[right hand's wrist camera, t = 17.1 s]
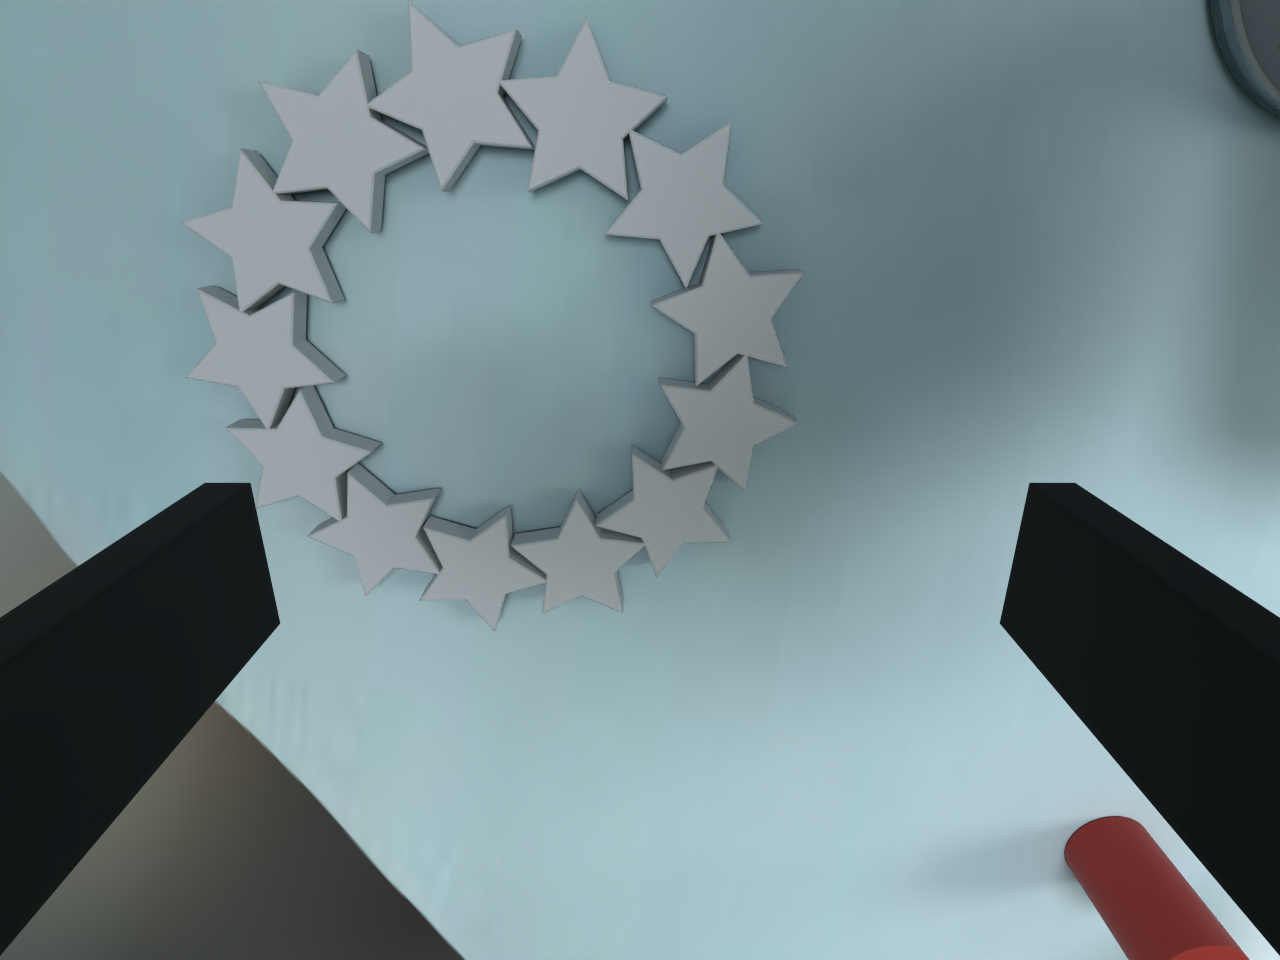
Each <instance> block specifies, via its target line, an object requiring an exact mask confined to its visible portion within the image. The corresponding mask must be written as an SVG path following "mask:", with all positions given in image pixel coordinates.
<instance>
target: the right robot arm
mask: <svg viewBox="0 0 1280 960" xmlns="http://www.w3.org/2000/svg"><path fill="white" fill-rule="evenodd" d="M1210 6H1211V15H1212V21H1213V26H1214V31H1215V35H1216V38H1217V41H1218V45H1219V48H1220V51H1221V53H1222V55H1223V58H1224V60H1225V62H1226V64H1227V66H1228V68H1229V70H1230V71H1231V73H1232V75H1233V76H1234V78H1235V80H1236V81H1237V82H1238V83H1239V85H1240V86H1241V87H1242V89H1243V90H1244V91H1245V92H1246V93H1247V94H1248V95H1249V96H1250V97H1251V98H1252V99H1253V100H1254V101H1255V102H1256V103H1257V104H1259V105H1260V106H1261V107H1263V108H1264V109H1265V110H1267V111H1268V112H1270V113H1272V114H1273V115H1275V116H1277V117H1279V118H1280V0H1210ZM279 624H280V620H279V616H278V611H277V606H276V601H275V597H274V592H273V587H272V582H271V578H270V573H269V568H268V564H267V559H266V554H265V549H264V545H263V540H262V535H261V530H260V526H259V521H258V516H257V512H256V507H255V502H254V497H253V493H252V488H251V483H204V484H203V485H201V486H200V487H198V488H196V489H195V490H193V491H192V492H190V493H189V494H187V495H186V496H184V497H183V498H181V499H180V500H178V501H177V502H175V503H174V504H172V505H171V506H169V507H168V508H166V509H165V510H163V511H162V512H160V513H159V514H157V515H155V516H154V517H152V518H151V519H149V520H148V521H146V522H145V523H143V524H142V525H140V526H139V527H137V528H136V529H134V530H133V531H131V532H130V533H128V534H127V535H125V536H124V537H122V538H121V539H119V540H118V541H116V542H114V543H113V544H111V545H110V546H108V547H107V548H105V549H104V550H102V551H101V552H99V553H98V554H96V555H95V556H93V557H92V558H90V559H89V560H87V561H86V562H84V563H83V564H81V565H80V566H78V567H77V568H75V569H73V570H72V571H71V572H69V573H68V574H66V575H64V576H63V577H61V578H60V579H58V580H57V581H55V582H54V583H52V584H51V585H49V586H48V587H46V588H45V589H43V590H42V591H40V592H39V593H37V594H36V595H34V596H32V597H31V598H30V599H28V600H26V601H25V602H23V603H22V604H20V605H19V606H17V607H16V608H14V609H13V610H11V611H10V612H8V613H7V614H5V615H4V616H2V617H1V618H0V955H1V954H2V953H3V952H4V951H5V949H6V948H7V947H8V946H9V945H10V943H11V942H12V941H13V940H14V939H15V938H16V936H17V935H18V934H19V933H20V932H21V930H22V929H23V928H24V927H25V926H26V924H27V923H28V922H29V921H30V920H31V918H32V917H33V916H34V915H35V914H36V913H37V911H38V910H39V909H40V908H41V907H42V905H43V904H44V903H45V902H46V901H47V900H48V898H49V897H50V896H51V895H52V894H53V892H54V891H55V890H56V889H57V888H58V886H59V885H60V884H61V883H62V882H63V881H64V879H65V878H66V877H67V876H68V875H69V873H70V872H71V871H72V870H73V869H74V867H75V866H76V865H77V864H78V863H79V862H80V860H81V859H82V858H83V857H84V856H85V854H86V853H87V852H88V851H89V850H90V848H91V847H92V846H93V845H94V844H95V843H96V841H97V840H98V839H99V838H100V837H101V835H102V834H103V833H104V832H105V831H106V829H107V828H108V827H109V826H110V825H111V823H112V822H113V821H114V820H115V819H116V818H117V816H118V815H119V814H120V813H121V812H122V811H123V809H124V808H125V807H126V806H127V805H128V803H129V802H130V801H131V800H132V799H133V797H134V796H135V795H136V794H137V793H138V791H139V790H140V789H141V788H142V787H143V786H144V784H145V783H146V782H147V781H148V780H149V778H150V777H151V776H152V775H153V774H154V773H155V771H156V770H157V769H158V768H159V767H160V765H161V764H162V763H163V762H164V761H165V760H166V758H167V757H168V756H169V755H170V754H171V752H172V751H173V750H174V749H175V748H176V746H177V745H178V744H179V743H180V742H181V740H182V739H183V738H184V737H185V736H186V735H187V733H188V732H189V731H190V730H191V729H192V727H193V726H194V725H195V724H196V723H197V722H198V720H199V719H200V718H201V717H202V716H203V714H204V713H205V712H206V711H207V710H208V708H209V707H210V706H211V705H212V704H213V703H214V701H215V700H216V699H217V698H218V697H219V695H220V694H221V693H222V692H223V691H224V689H225V688H226V687H227V686H228V685H229V684H230V682H231V681H232V680H233V679H234V678H235V676H236V675H237V674H238V673H239V672H240V671H241V669H242V668H243V667H244V666H245V665H246V663H247V662H248V661H249V660H250V659H251V657H252V656H253V655H254V654H255V653H256V652H257V650H258V649H259V648H260V647H261V646H262V644H263V643H264V642H265V641H266V640H267V638H268V637H269V636H270V635H271V634H272V633H273V631H274V630H275V629H276V628H277V627H278V625H279ZM1000 624H1001V625H1002V627H1003V628H1004V629H1005V630H1006V631H1007V633H1008V634H1009V635H1010V636H1011V637H1012V638H1013V640H1014V641H1015V642H1016V643H1017V644H1018V646H1019V647H1020V648H1021V649H1022V650H1023V652H1024V653H1025V654H1026V655H1027V656H1028V657H1029V659H1030V660H1031V661H1032V662H1033V663H1034V665H1035V666H1036V667H1037V668H1038V669H1039V671H1040V672H1041V673H1042V674H1043V675H1044V676H1045V678H1046V679H1047V680H1048V681H1049V682H1050V684H1051V685H1052V686H1053V687H1054V688H1055V689H1056V691H1057V692H1058V693H1059V694H1060V695H1061V697H1062V698H1063V699H1064V700H1065V701H1066V703H1067V704H1068V705H1069V706H1070V707H1071V708H1072V710H1073V711H1074V712H1075V713H1076V714H1077V716H1078V717H1079V718H1080V719H1081V720H1082V722H1083V723H1084V724H1085V725H1086V726H1087V727H1088V729H1089V730H1090V731H1091V732H1092V733H1093V735H1094V736H1095V737H1096V738H1097V739H1098V741H1099V742H1100V743H1101V744H1102V745H1103V746H1104V748H1105V749H1106V750H1107V751H1108V752H1109V754H1110V755H1111V756H1112V757H1113V758H1114V760H1115V761H1116V762H1117V763H1118V764H1119V765H1120V767H1121V768H1122V769H1123V770H1124V771H1125V773H1126V774H1127V775H1128V776H1129V777H1130V778H1131V780H1132V781H1133V782H1134V783H1135V784H1136V786H1137V787H1138V788H1139V789H1140V790H1141V792H1142V793H1143V794H1144V795H1145V796H1146V797H1147V799H1148V800H1149V801H1150V802H1151V803H1152V805H1153V806H1154V807H1155V808H1156V809H1157V811H1158V812H1159V813H1160V814H1161V815H1162V816H1163V818H1164V819H1165V820H1166V821H1167V822H1168V824H1169V825H1170V826H1171V827H1172V828H1173V830H1174V831H1175V832H1176V833H1177V834H1178V835H1179V837H1180V838H1181V839H1182V840H1183V841H1184V843H1185V844H1186V845H1187V846H1188V847H1189V849H1190V850H1191V851H1192V852H1193V853H1194V854H1195V856H1196V857H1197V858H1198V859H1199V860H1200V862H1201V863H1202V864H1203V865H1204V866H1205V868H1206V869H1207V870H1208V871H1209V872H1210V873H1211V875H1212V876H1213V877H1214V878H1215V879H1216V881H1217V882H1218V883H1219V884H1220V885H1221V886H1222V888H1223V889H1224V890H1225V891H1226V892H1227V894H1228V895H1229V896H1230V897H1231V898H1232V900H1233V901H1234V902H1235V903H1236V904H1237V905H1238V907H1239V908H1240V909H1241V910H1242V911H1243V913H1244V914H1245V915H1246V916H1247V917H1248V919H1249V920H1250V921H1251V922H1252V923H1253V924H1254V926H1255V927H1256V928H1257V929H1258V930H1259V932H1260V933H1261V934H1262V935H1263V936H1264V938H1265V939H1266V940H1267V941H1268V942H1269V943H1270V945H1271V946H1272V947H1273V948H1274V949H1275V951H1276V952H1277V953H1278V954H1279V955H1280V618H1279V617H1278V616H1276V615H1275V614H1273V613H1272V612H1270V611H1269V610H1267V609H1266V608H1264V607H1263V606H1261V605H1260V604H1258V603H1257V602H1255V601H1254V600H1252V599H1251V598H1249V597H1248V596H1246V595H1244V594H1243V593H1241V592H1240V591H1238V590H1237V589H1235V588H1234V587H1232V586H1231V585H1229V584H1228V583H1226V582H1225V581H1223V580H1222V579H1220V578H1219V577H1217V576H1216V575H1214V574H1213V573H1211V572H1210V571H1208V570H1207V569H1205V568H1203V567H1202V566H1200V565H1199V564H1197V563H1196V562H1194V561H1193V560H1191V559H1190V558H1188V557H1187V556H1185V555H1184V554H1182V553H1181V552H1179V551H1178V550H1176V549H1175V548H1173V547H1172V546H1170V545H1169V544H1167V543H1166V542H1164V541H1162V540H1161V539H1159V538H1158V537H1156V536H1155V535H1153V534H1152V533H1150V532H1149V531H1147V530H1146V529H1144V528H1143V527H1141V526H1140V525H1138V524H1137V523H1135V522H1134V521H1132V520H1131V519H1129V518H1128V517H1126V516H1125V515H1123V514H1121V513H1120V512H1118V511H1117V510H1115V509H1114V508H1112V507H1111V506H1109V505H1108V504H1106V503H1105V502H1103V501H1102V500H1100V499H1099V498H1097V497H1096V496H1094V495H1093V494H1091V493H1090V492H1088V491H1087V490H1085V489H1084V488H1082V487H1080V486H1079V485H1077V484H1076V483H1029V488H1028V493H1027V497H1026V502H1025V507H1024V512H1023V516H1022V521H1021V526H1020V530H1019V535H1018V540H1017V545H1016V549H1015V554H1014V559H1013V564H1012V568H1011V573H1010V578H1009V582H1008V587H1007V592H1006V597H1005V601H1004V606H1003V611H1002V616H1001V620H1000Z"/></svg>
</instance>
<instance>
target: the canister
mask: <svg viewBox="0 0 1280 960" xmlns="http://www.w3.org/2000/svg"><path fill="white" fill-rule="evenodd" d="M1065 859H1066V862H1067V864H1068V866H1069V867H1070V869H1071V870H1072V872H1073V873H1074V875H1075V877H1076V878H1077V880H1078V881H1079V883H1080V884H1081V886H1082V888H1083V889H1084V891H1085V892H1086V894H1087V895H1088V897H1089V898H1090V900H1091V902H1092V903H1093V905H1094V906H1095V908H1096V909H1097V911H1098V913H1099V914H1100V916H1101V917H1102V919H1103V920H1104V922H1105V923H1106V925H1107V927H1108V928H1109V930H1110V931H1111V933H1112V934H1113V936H1114V938H1115V939H1116V941H1117V942H1118V944H1119V945H1120V947H1121V948H1122V950H1123V952H1124V953H1125V955H1126V956H1127V958H1128V959H1129V960H1249V959H1248V957H1247V956H1246V955H1245V953H1244V952H1243V951H1242V950H1241V948H1240V947H1239V946H1238V945H1237V943H1236V942H1235V941H1234V940H1233V938H1232V937H1231V936H1230V935H1229V933H1228V932H1227V931H1226V930H1225V928H1224V927H1223V926H1222V925H1221V923H1220V922H1219V921H1218V920H1217V918H1216V917H1215V916H1214V915H1213V913H1212V912H1211V911H1210V910H1209V908H1208V907H1207V906H1206V905H1205V903H1204V902H1203V901H1202V900H1201V898H1200V897H1199V896H1198V895H1197V893H1196V892H1195V891H1194V890H1193V888H1192V887H1191V886H1190V885H1189V883H1188V882H1187V881H1186V880H1185V878H1184V877H1183V876H1182V875H1181V873H1180V872H1179V871H1178V870H1177V868H1176V867H1175V866H1174V865H1173V863H1172V862H1171V861H1170V860H1169V858H1168V857H1167V856H1166V855H1165V853H1164V852H1163V851H1162V850H1161V848H1160V847H1159V846H1158V845H1157V843H1156V842H1155V841H1154V840H1153V838H1152V837H1151V836H1150V835H1149V833H1148V832H1147V831H1146V829H1145V828H1144V827H1143V826H1142V825H1141V824H1140V823H1138V822H1136V821H1134V820H1132V819H1129V818H1125V817H1106V818H1101V819H1098V820H1095V821H1092V822H1090V823H1088V824H1086V825H1084V826H1083V827H1081V828H1080V829H1079V830H1078V831H1076V832H1075V833H1074V834H1073V835H1072V837H1071V838H1070V839H1069V841H1068V843H1067V845H1066V849H1065Z"/></svg>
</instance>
